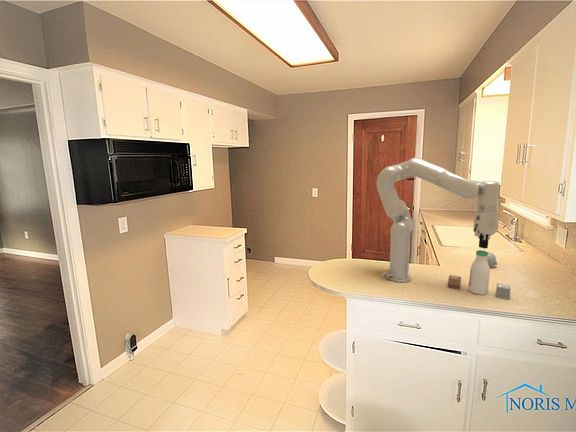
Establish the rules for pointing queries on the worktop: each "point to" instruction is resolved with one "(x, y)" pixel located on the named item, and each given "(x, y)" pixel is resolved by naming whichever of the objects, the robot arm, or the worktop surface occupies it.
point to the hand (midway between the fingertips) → (483, 247)
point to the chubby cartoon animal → (491, 260)
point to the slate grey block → (503, 291)
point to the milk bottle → (479, 274)
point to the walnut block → (454, 282)
